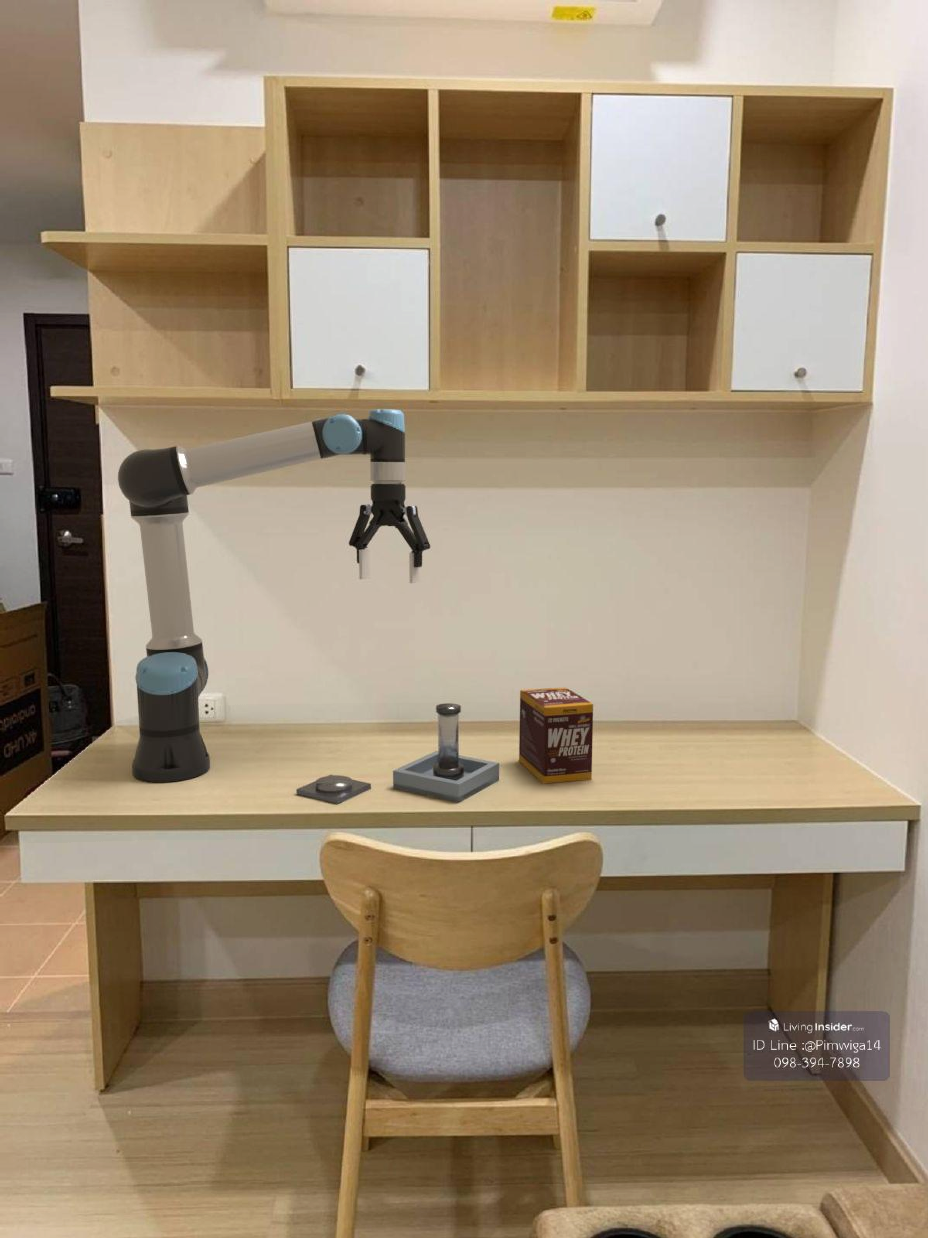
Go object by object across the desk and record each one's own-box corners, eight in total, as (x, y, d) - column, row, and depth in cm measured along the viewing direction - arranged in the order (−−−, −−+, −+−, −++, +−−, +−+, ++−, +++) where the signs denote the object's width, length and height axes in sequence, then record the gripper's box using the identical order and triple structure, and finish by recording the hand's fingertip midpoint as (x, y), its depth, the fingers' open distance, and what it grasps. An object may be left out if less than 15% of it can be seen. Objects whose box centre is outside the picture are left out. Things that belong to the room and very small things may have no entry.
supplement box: (543, 784, 181) (544, 707, 179) (518, 761, 196) (519, 689, 193) (592, 780, 184) (594, 703, 182) (564, 757, 199) (565, 686, 196)
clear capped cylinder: (428, 780, 180) (427, 708, 178) (441, 771, 186) (440, 701, 183) (456, 785, 178) (456, 711, 175) (468, 775, 183) (468, 704, 181)
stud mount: (296, 794, 175) (296, 784, 175) (330, 779, 184) (330, 769, 184) (337, 804, 170) (337, 793, 170) (370, 788, 179) (370, 778, 178)
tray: (393, 788, 179) (393, 770, 178) (436, 767, 192) (436, 750, 191) (458, 802, 171) (458, 784, 171) (499, 779, 184) (499, 762, 183)
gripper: (445, 483, 197) (446, 582, 200) (353, 482, 210) (355, 575, 213) (426, 483, 190) (426, 586, 194) (331, 482, 203) (333, 578, 207)
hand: (389, 580), depth 203 cm, fingers open, 13 cm apart
